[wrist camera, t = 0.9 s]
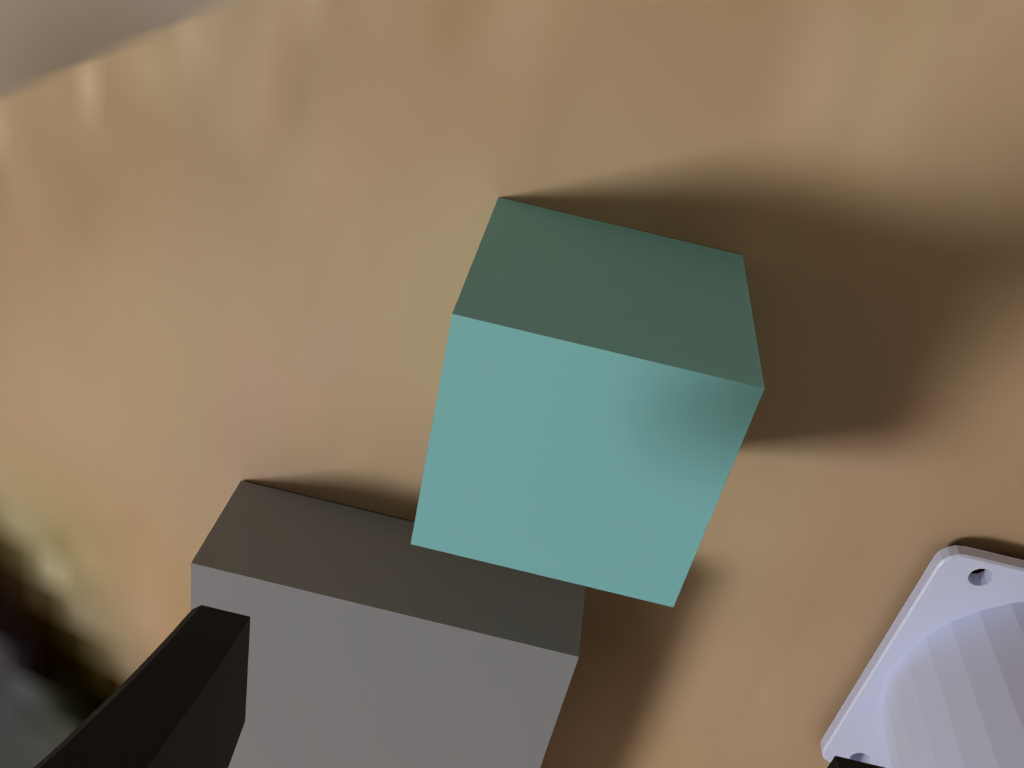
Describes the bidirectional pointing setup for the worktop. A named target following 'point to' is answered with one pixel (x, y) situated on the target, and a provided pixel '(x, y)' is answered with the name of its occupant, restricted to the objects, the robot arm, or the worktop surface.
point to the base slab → (383, 641)
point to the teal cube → (589, 402)
